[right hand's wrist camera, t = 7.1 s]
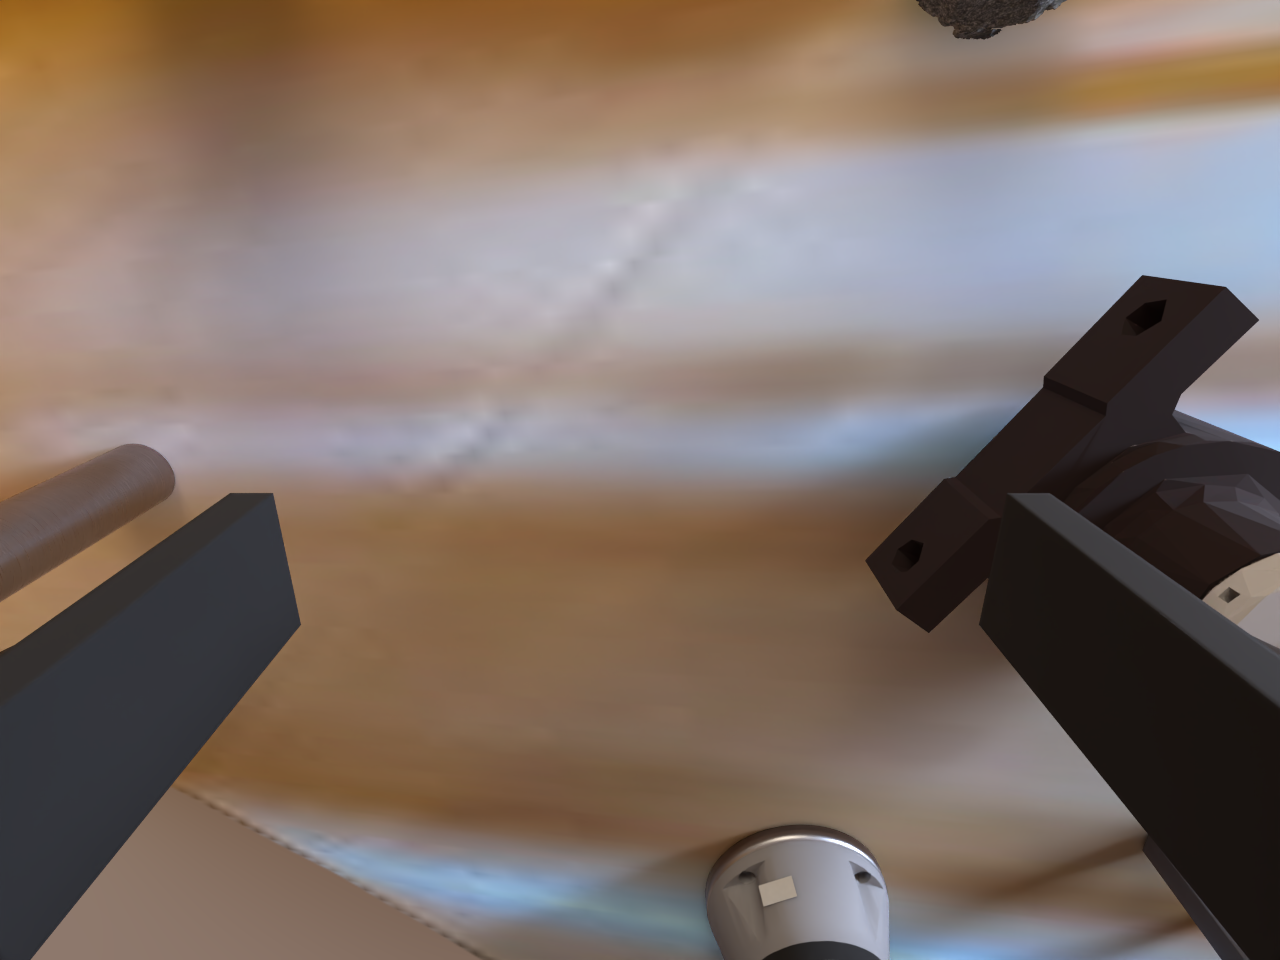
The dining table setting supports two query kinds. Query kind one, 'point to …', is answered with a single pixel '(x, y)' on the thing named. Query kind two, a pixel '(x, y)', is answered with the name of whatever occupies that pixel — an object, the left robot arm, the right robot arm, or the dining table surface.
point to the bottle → (77, 511)
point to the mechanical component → (1116, 468)
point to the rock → (985, 14)
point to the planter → (1194, 905)
